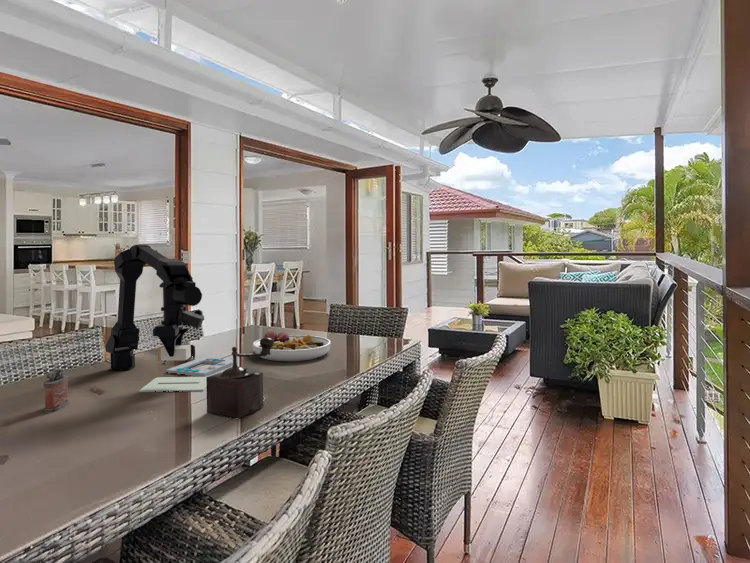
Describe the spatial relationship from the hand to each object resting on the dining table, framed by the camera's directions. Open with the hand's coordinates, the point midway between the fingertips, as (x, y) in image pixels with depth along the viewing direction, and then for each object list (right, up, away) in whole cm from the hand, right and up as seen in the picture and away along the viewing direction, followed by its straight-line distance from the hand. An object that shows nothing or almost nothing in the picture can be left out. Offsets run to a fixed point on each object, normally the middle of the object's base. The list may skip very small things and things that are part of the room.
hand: (174, 354), depth 147 cm
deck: (0, -1, 0) cm, 1 cm away
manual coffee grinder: (+26, -11, -19) cm, 34 cm away
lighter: (-22, -11, -20) cm, 32 cm away
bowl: (+28, -7, +44) cm, 53 cm away
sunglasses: (-12, -7, +33) cm, 36 cm away
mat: (+1, -9, +1) cm, 9 cm away
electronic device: (+1, -9, +21) cm, 23 cm away
